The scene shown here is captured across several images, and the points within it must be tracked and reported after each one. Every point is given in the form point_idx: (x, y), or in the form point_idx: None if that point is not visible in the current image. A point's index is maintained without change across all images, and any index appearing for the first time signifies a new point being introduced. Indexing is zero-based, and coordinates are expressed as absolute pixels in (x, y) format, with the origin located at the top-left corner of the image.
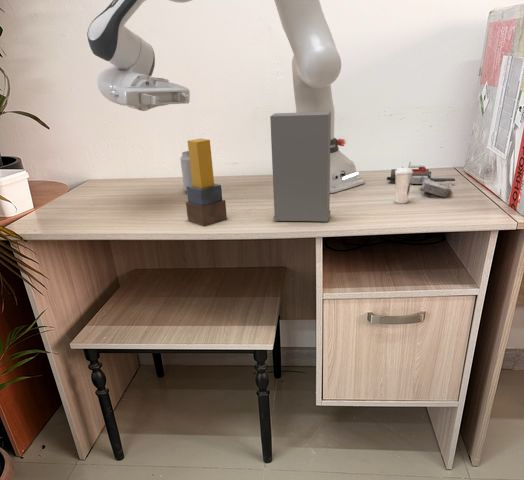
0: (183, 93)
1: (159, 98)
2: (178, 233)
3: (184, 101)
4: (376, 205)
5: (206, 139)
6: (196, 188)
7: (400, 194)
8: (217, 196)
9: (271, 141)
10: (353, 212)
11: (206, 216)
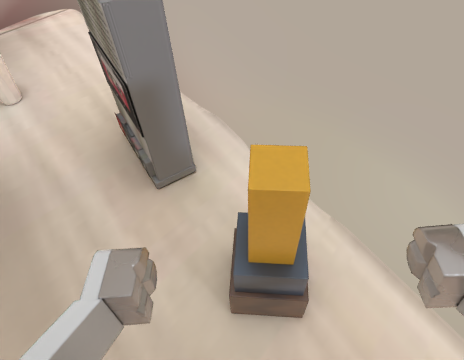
0: (39, 349)
1: (418, 228)
2: (366, 260)
3: (154, 269)
4: (41, 113)
5: (253, 155)
6: (302, 236)
7: (15, 85)
8: None
9: (170, 45)
10: (91, 117)
11: None
